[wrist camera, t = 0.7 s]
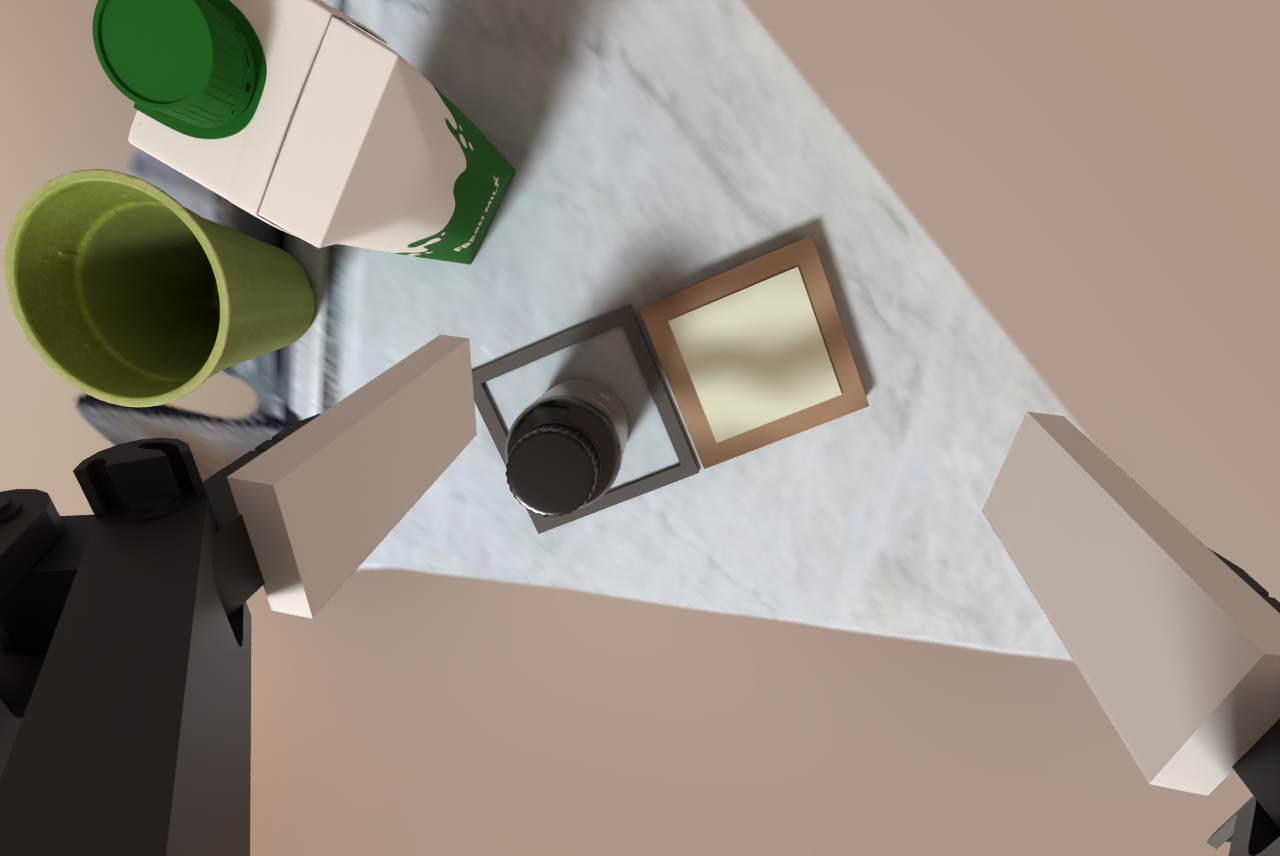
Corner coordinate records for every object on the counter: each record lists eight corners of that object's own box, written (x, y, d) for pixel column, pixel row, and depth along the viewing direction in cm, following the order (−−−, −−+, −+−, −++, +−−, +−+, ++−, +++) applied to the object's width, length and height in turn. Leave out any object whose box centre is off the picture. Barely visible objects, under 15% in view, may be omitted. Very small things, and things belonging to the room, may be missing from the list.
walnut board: (639, 308, 39) (638, 308, 37) (806, 237, 37) (812, 234, 36) (702, 462, 41) (704, 469, 39) (861, 401, 40) (870, 406, 38)
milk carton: (412, 91, 36) (123, -147, 17) (536, 165, 37) (396, 19, 18) (360, 217, 38) (45, 133, 19) (478, 285, 39) (294, 272, 19)
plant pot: (348, 215, 38) (221, 182, 27) (349, 387, 41) (234, 419, 30) (177, 195, 38) (-17, 155, 27) (189, 367, 41) (17, 393, 30)
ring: (463, 375, 40) (462, 376, 40) (630, 304, 39) (629, 304, 38) (539, 532, 43) (538, 533, 43) (698, 471, 41) (698, 472, 41)
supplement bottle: (648, 430, 41) (643, 483, 29) (578, 486, 42) (545, 559, 30) (587, 357, 40) (556, 382, 28) (516, 417, 41) (458, 464, 29)
